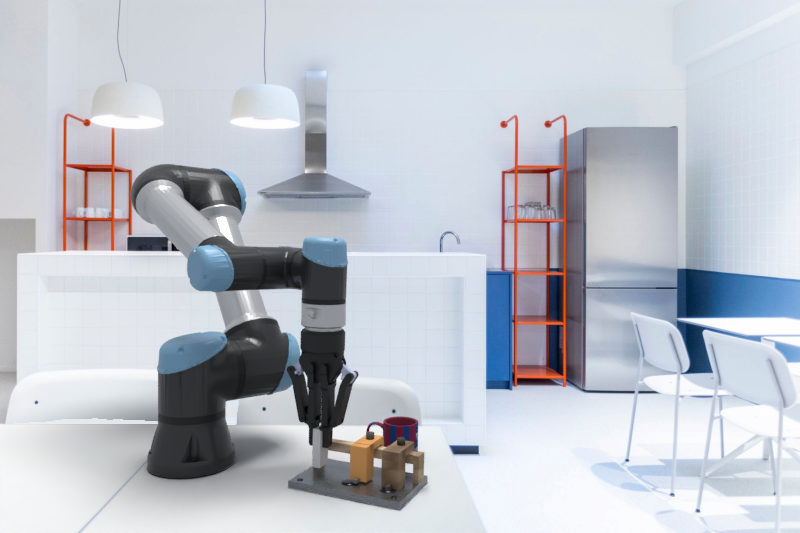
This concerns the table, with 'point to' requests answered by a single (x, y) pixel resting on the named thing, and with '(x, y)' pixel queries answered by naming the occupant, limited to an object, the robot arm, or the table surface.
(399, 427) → the mug
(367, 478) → the slider leg
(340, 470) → the flange plate
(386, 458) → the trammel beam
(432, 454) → the table surface
